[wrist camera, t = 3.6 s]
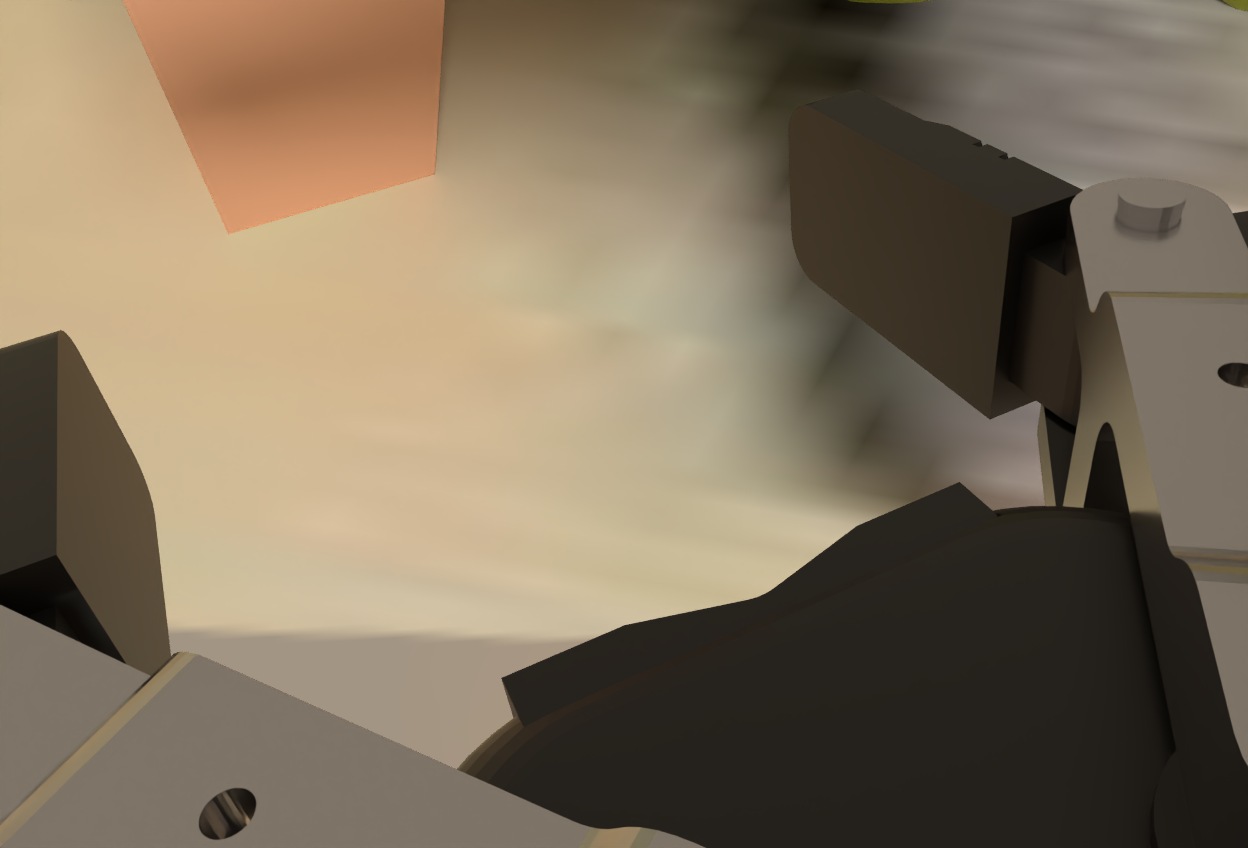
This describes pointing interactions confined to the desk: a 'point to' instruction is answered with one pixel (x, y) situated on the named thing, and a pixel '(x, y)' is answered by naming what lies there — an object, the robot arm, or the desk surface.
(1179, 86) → the desk surface
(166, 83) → the terracotta block
